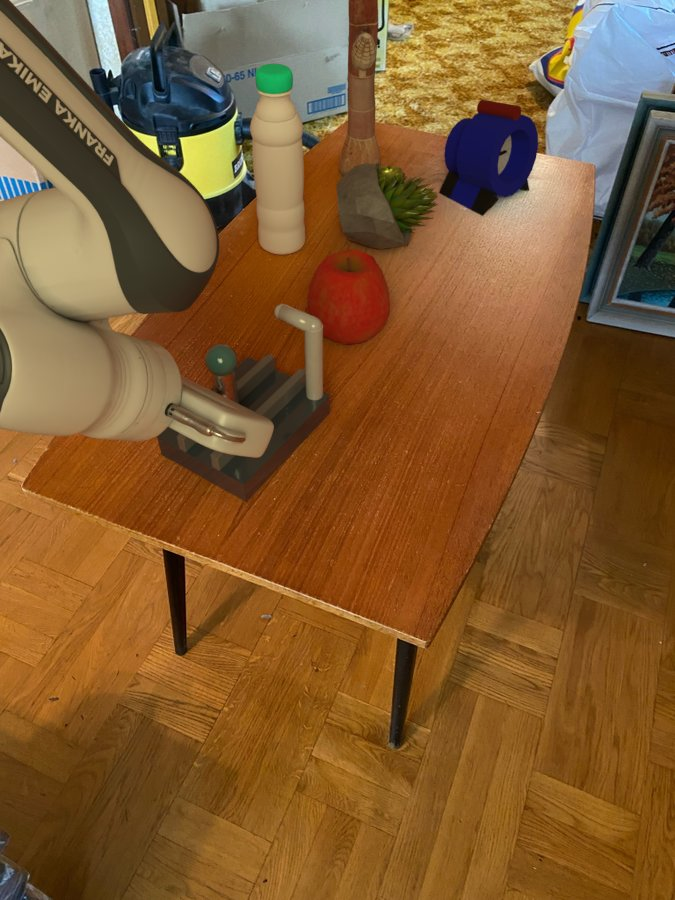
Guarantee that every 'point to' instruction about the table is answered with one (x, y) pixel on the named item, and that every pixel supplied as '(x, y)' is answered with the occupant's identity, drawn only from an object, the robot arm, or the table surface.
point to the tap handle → (223, 370)
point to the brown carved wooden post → (361, 87)
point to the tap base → (263, 414)
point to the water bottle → (278, 162)
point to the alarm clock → (489, 156)
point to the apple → (349, 297)
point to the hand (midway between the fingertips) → (215, 403)
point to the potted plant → (381, 205)
